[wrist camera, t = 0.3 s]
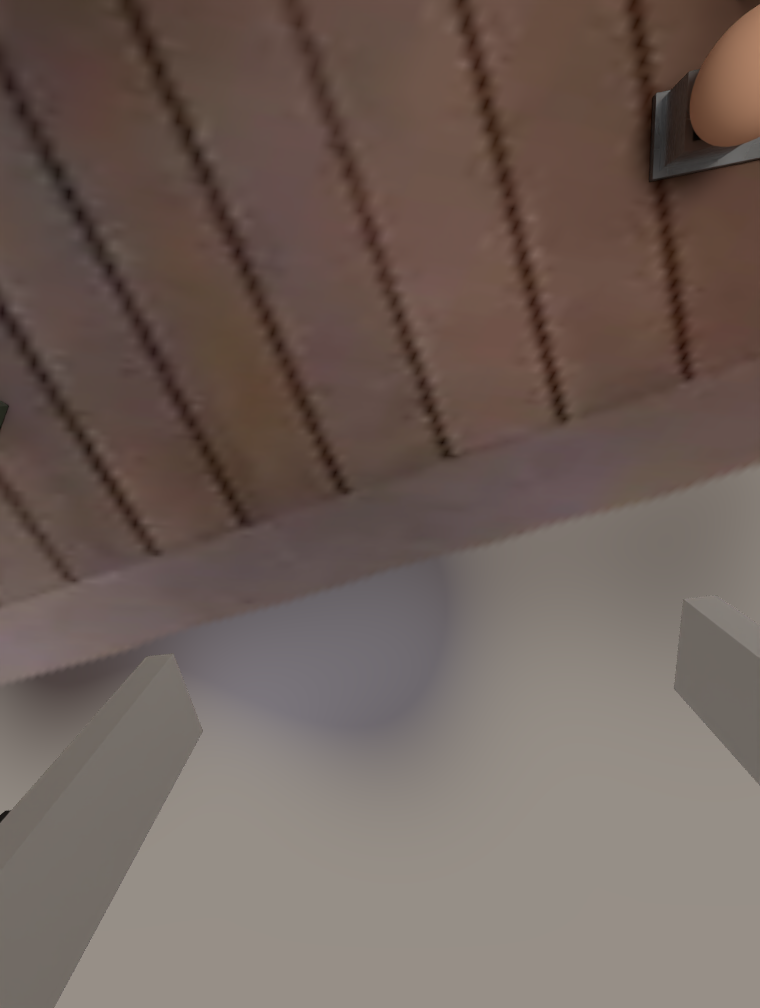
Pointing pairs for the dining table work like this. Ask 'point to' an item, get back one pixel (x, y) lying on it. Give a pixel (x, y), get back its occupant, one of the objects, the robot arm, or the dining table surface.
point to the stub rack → (687, 138)
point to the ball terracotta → (730, 86)
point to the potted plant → (2, 411)
